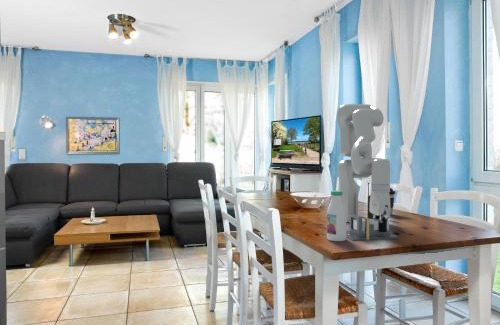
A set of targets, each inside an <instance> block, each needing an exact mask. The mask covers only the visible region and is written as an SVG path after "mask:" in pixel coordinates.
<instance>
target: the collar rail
mask: <svg viewBox="0 0 500 325" xmlns="http://www.w3.org/2000/svg"><path fill="white" fill-rule="evenodd" d="M353 219H357V230H355V229H353ZM362 219H365V230H364V231H362ZM391 231H392V230H391V228H389V230H387V232H379V230H374V224H369V218H367V216H364V215H362V216H361V215H359V214H358V215H356V214H354V213H350V222H349V230H348V231H347V230H346V239H349V240H351V241H373V240H375V241H376V240H377V241H378V240H398V239H399V237H398V235H395V234H393V233H391Z"/></svg>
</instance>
